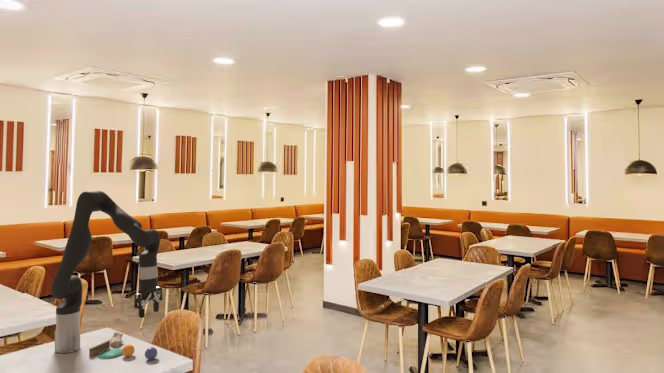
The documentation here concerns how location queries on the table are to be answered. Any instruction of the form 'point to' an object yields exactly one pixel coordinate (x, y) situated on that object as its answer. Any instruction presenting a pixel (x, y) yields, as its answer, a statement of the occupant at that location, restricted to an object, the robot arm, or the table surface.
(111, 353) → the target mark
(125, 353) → the orange ball
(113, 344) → the coral
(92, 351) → the rail
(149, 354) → the blue ball
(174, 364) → the table surface
